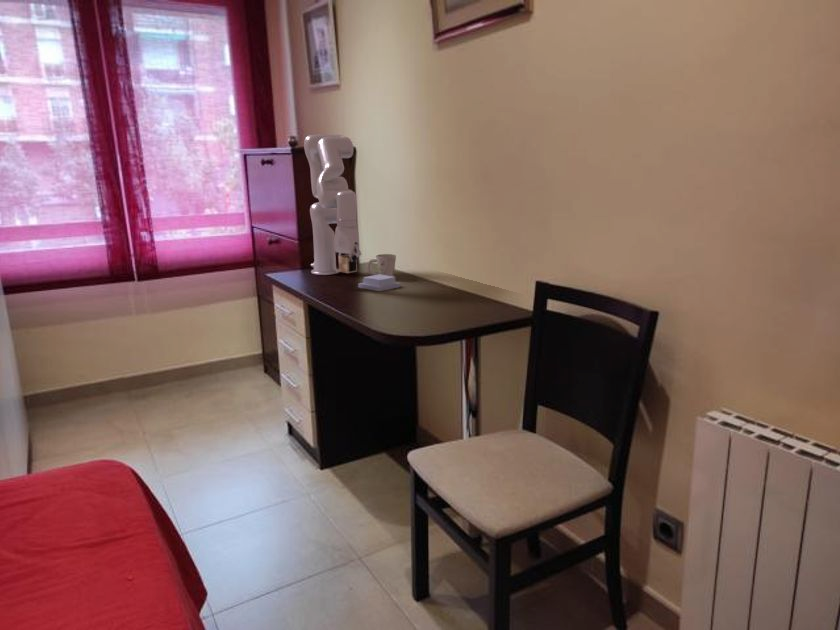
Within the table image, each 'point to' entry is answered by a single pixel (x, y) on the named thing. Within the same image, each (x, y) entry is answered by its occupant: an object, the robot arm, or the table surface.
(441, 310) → the table surface
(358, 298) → the table surface
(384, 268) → the mug
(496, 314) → the table surface
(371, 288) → the plinth
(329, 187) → the robot arm
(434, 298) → the table surface
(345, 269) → the beech block
